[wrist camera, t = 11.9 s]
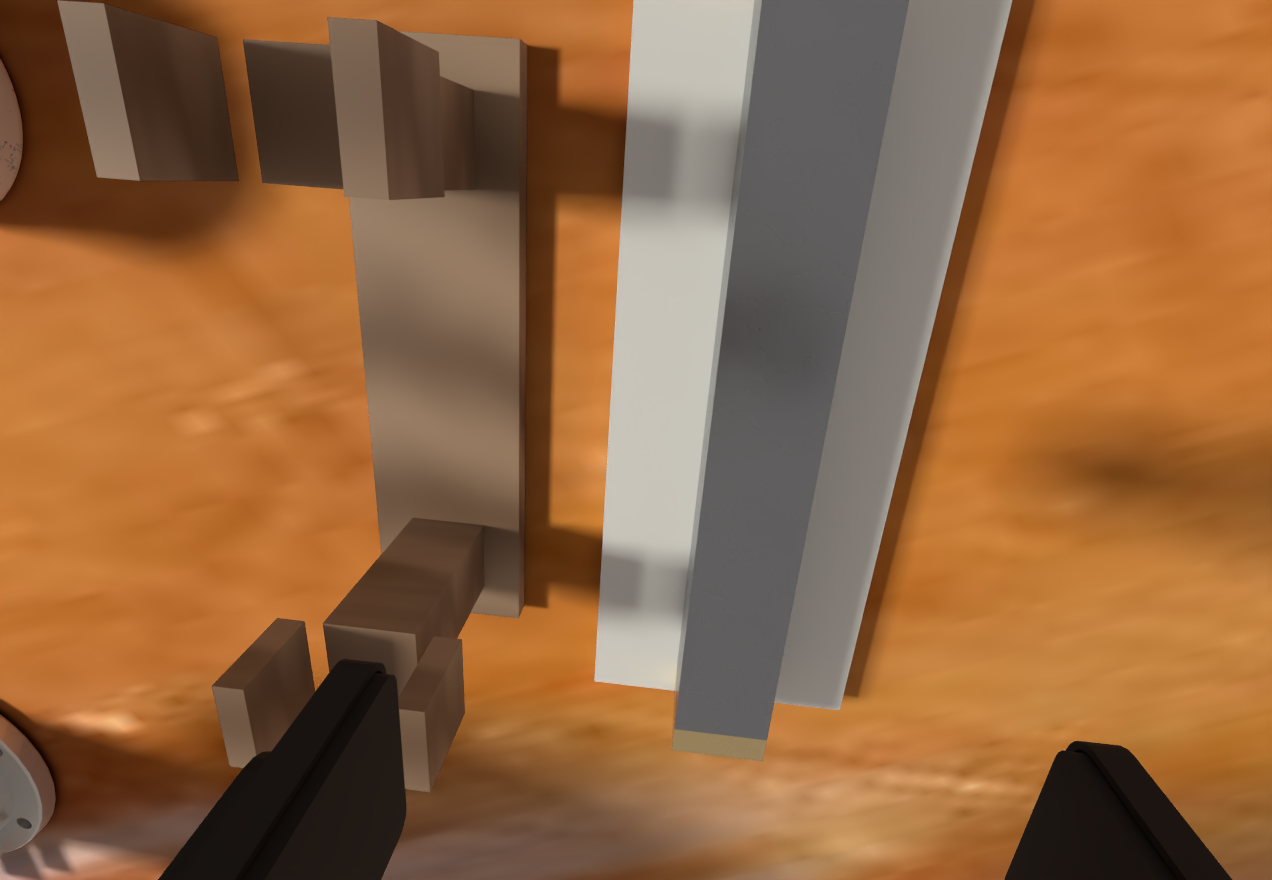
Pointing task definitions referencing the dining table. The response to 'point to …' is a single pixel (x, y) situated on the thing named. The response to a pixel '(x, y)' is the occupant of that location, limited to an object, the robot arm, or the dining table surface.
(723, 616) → the rail
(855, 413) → the mat
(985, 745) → the dining table surface
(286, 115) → the rack
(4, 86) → the teacup with lid
